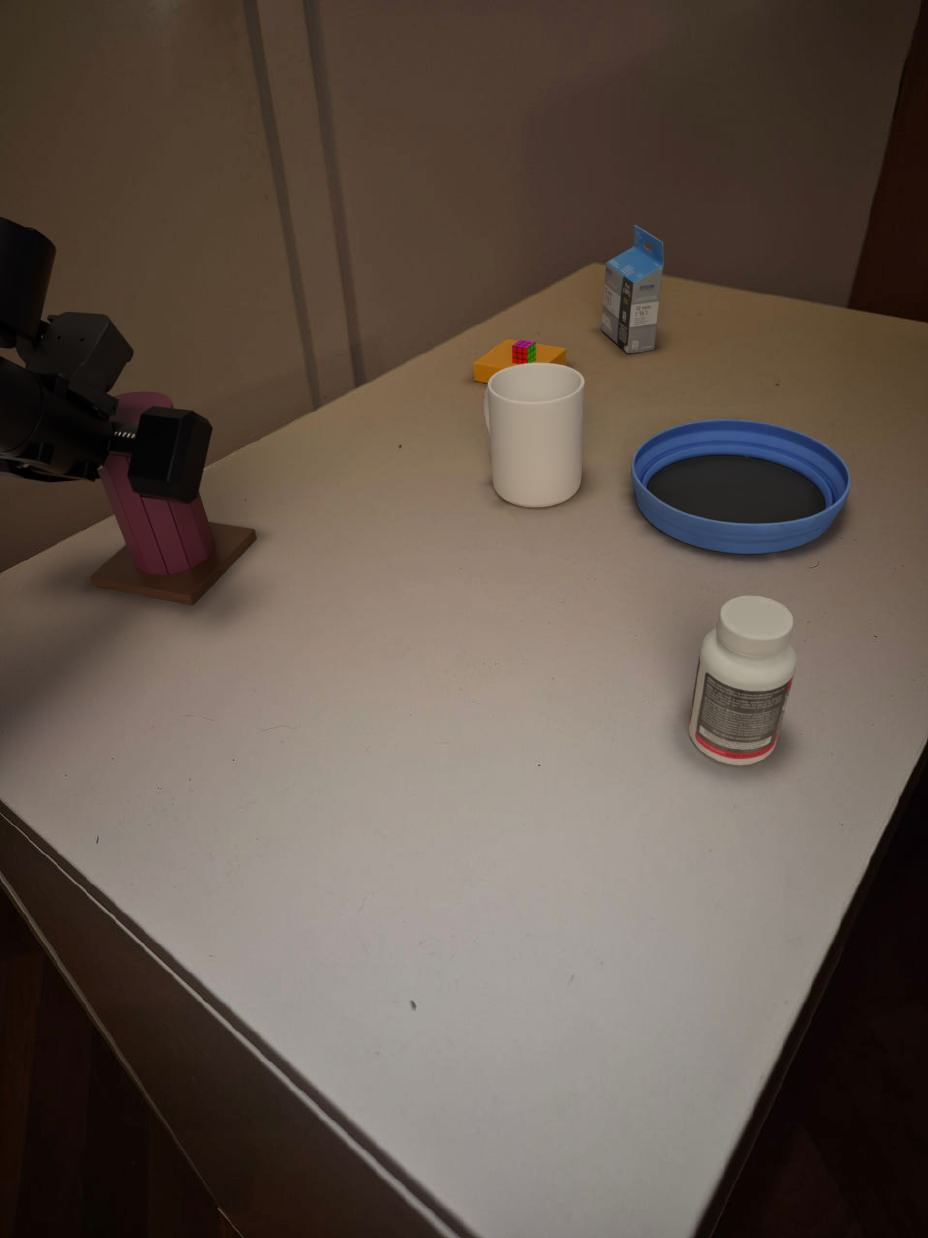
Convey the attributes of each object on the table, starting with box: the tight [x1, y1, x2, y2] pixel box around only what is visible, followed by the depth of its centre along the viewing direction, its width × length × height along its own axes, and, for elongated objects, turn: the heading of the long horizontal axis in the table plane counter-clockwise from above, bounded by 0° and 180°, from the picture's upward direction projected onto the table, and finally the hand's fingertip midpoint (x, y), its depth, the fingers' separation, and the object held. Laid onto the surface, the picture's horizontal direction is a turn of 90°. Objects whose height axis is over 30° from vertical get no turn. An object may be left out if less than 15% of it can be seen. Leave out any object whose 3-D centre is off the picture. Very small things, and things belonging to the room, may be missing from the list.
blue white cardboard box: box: [600, 224, 665, 354], centre depth 100 cm, size 9×4×12 cm, turn 14°
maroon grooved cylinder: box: [97, 390, 216, 575], centre depth 67 cm, size 7×7×13 cm
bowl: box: [630, 418, 852, 555], centre depth 72 cm, size 18×18×4 cm
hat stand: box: [89, 521, 258, 606], centre depth 70 cm, size 10×10×6 cm
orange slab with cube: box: [472, 338, 567, 384], centre depth 96 cm, size 8×8×4 cm
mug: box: [482, 363, 586, 509], centre depth 76 cm, size 12×8×10 cm
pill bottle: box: [688, 594, 798, 766], centre depth 50 cm, size 5×5×10 cm
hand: (161, 475), depth 68 cm, fingers closed on maroon grooved cylinder, 7 cm apart
